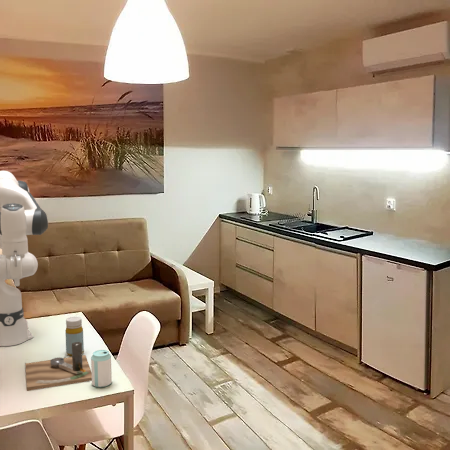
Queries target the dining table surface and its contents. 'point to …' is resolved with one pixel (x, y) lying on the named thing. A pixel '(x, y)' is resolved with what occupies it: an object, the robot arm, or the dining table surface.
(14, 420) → the dining table surface
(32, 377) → the tuner board
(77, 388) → the dining table surface
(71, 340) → the bottle
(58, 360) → the peg lever
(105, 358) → the can
